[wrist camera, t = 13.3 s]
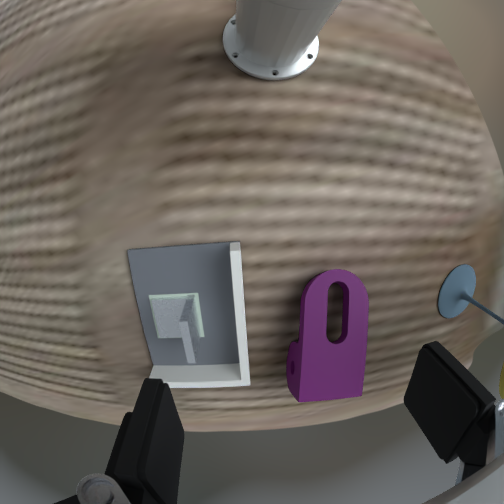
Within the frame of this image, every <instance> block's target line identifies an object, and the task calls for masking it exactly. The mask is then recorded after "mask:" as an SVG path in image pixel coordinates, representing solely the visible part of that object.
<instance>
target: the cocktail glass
mask: <svg viewBox="0 0 504 504" xmlns="http://www.w3.org/2000/svg"><path fill="white" fill-rule="evenodd" d="M475 285H476V276H475V272H474V270H473V268H472V267H471V266H469V265H466V264H463V265H459V266H458V267H456V268H455V269H453V270H452V271H451V272H450V274H449V275H448V276H447V278H446V279H445V281H444V283H443V285H442V287H441V290H440V293H439V298H438V308H439V311H440V313H441V315H442V316H444V317H446V318H453V317H455V316H457V315H459V314H460V313H461V312H462V311H463V310H464V309H465V308H466V307H467V305H468V304H469V302H470V303H472V304H474V305H475V306H477V307H479V308H480V309H482V310H483V311H485V312H486V313H488V314H489V315H491V316H492V317H494V318H495V319H497V320H498V321H500V322H501V323H502V324H504V320H503V319H502V318H500V317H499V316H497V315H496V314H494V313H493V312H491V311H490V310H489V309H487V308H486V307H484V306H483V305H481V304H480V303H478V302H477V301H475V300H474V299H473V298H472V296H473V293H474V290H475ZM499 392H500V396H501V398H502V399H504V364H503V367H502V371H501V375H500V383H499Z"/></svg>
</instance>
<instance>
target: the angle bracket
mask: <svg viewBox="0 0 504 504" xmlns="http://www.w3.org/2000/svg"><path fill="white" fill-rule="evenodd" d="M151 301H152V306H153V311H154V315H155V320H156V324H157V328H158V332H159V336H160V338H176V337H182V339H183V344H184V348H185V353H186V357H187V362H188V363H196V360H197V354H198V348H199V342H200V336H201V331H200V325H199V319H198V313H197V306H196V300H195V296H183V297H164V298H152V300H151Z"/></svg>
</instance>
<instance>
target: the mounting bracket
mask: <svg viewBox="0 0 504 504" xmlns="http://www.w3.org/2000/svg"><path fill="white" fill-rule="evenodd" d="M334 282H335V283H337V284H339V285H340V286H341V287H342V290H343V316H342V333H341V336H340V337H339V339H338V340H336V341H335V342H329V341H328V339H327V336H326V326H327V300H328V289H329V287H330V285H331V284H332V283H334ZM368 310H369V300H368V294H367V291H366V288H365V286H364V285H363V283H362V282H361V280H360V279H359V278H358V277H357V276H356V275H354V274H353V273H351V272H349V271H346V270H341V269H334V270H329V271H326V272H323V273H320V274H318V275H317V276H315V277H314V278H312V279H311V280H310V281H309V283H308V284H307V285H306V287H305V289H304V291H303V293H302V297H301V304H300V327H299V341H298V342H292V343H291V344H290V346H289V351H288V356H287V366H286V372H287V383H288V387H289V390H290V392H291V393H292V395H293V396H294V397H295V398H296V400H297V401H298V402H309V401H322V400H333V399H342V398H350V397H358V396H362V389H363V380H364V371H365V360H366V348H367V332H368Z"/></svg>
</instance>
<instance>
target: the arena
mask: <svg viewBox="0 0 504 504" xmlns="http://www.w3.org/2000/svg"><path fill="white" fill-rule="evenodd" d="M127 251H128V257H129V263H130V269H131V274H132V280H133V285H134V290H135V294H136V299H137V304H138V308H139V312H140V317H141V321H142V325H143V329H144V333H145V337H146V340H147V344H148V348H149V351H150V355H151V358H152V362H153V365H154V366H153V368H152V371H151V374H150V377H149V378H156V379H162V380H163V382H164V383H168V385H169V388H208V387H232V386H247V385H250V373H249V361H248V348H247V334H246V321H245V307H244V293H243V278H242V263H241V249H240V241H232V242H218V243H204V244H190V245H177V246H164V247H151V248H138V249H129V250H127ZM183 296H195V300H196V306H197V313H198V319H199V325H200V331H201V336H200V342H199V348H198V354H197V360H196V363H188V362H187V357H186V353H185V348H184V344H183V339H182V337H176V338H160V336H159V332H158V328H157V324H156V320H155V315H154V311H153V306H152V301H151V300H152V298H164V297H183Z"/></svg>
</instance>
